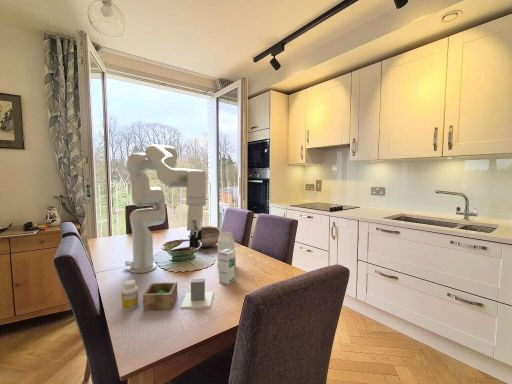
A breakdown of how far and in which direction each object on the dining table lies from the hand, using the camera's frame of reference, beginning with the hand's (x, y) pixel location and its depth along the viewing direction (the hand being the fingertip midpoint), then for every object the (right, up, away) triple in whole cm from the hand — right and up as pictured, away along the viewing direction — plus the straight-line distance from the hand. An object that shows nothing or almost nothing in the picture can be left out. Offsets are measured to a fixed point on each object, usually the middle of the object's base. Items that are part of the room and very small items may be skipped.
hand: (195, 243), depth 99 cm
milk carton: (+8, -20, +34) cm, 40 cm away
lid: (+1, -23, -1) cm, 23 cm away
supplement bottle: (-23, -23, -7) cm, 33 cm away
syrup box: (+11, -21, +17) cm, 29 cm away
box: (-12, -22, -4) cm, 26 cm away
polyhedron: (-12, -23, -4) cm, 26 cm away
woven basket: (-10, -17, +70) cm, 72 cm away
